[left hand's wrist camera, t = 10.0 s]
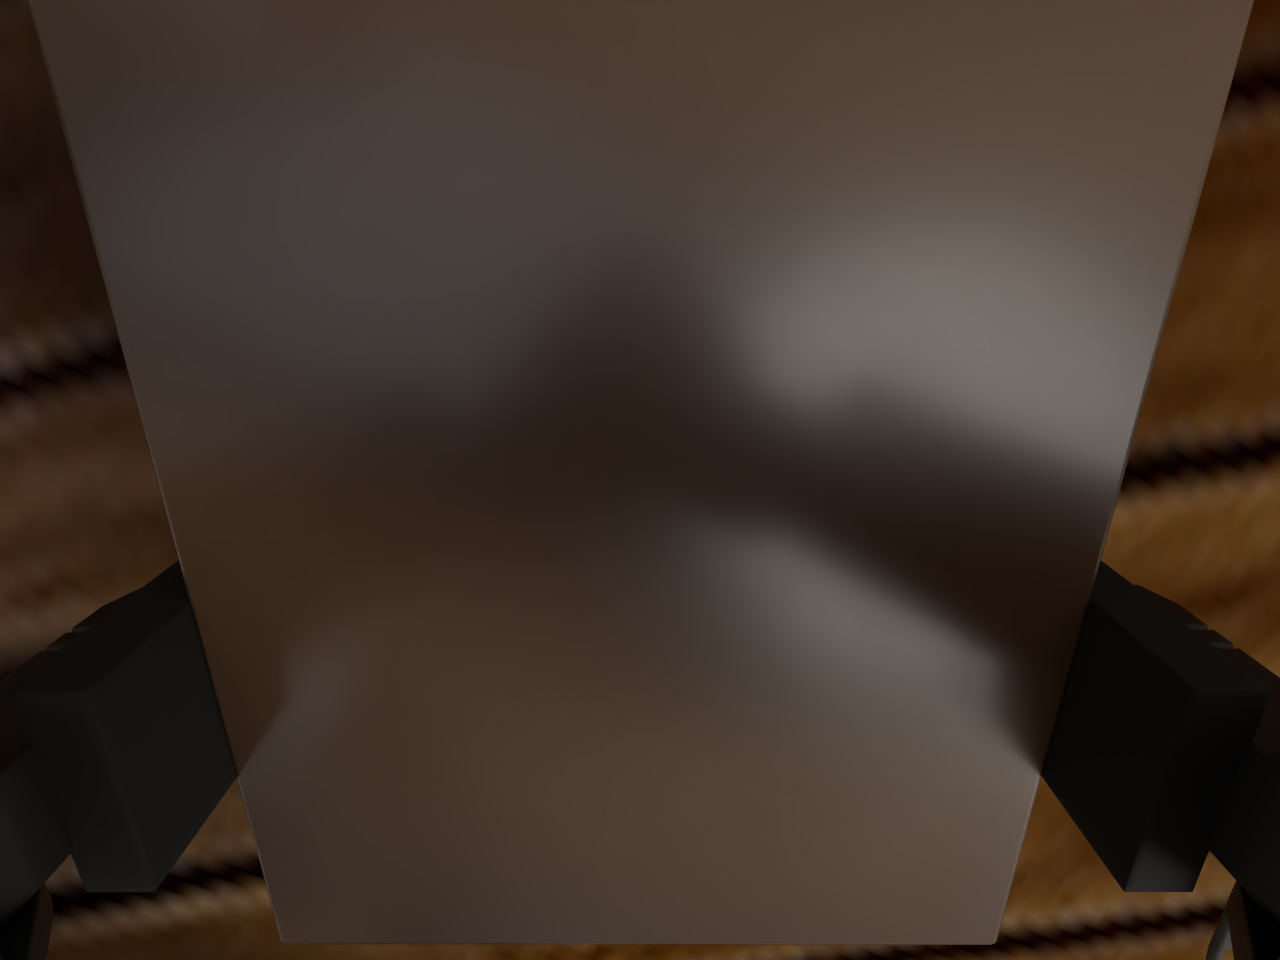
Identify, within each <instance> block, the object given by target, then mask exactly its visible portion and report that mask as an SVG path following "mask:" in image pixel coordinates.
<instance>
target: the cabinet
mask: <svg viewBox="0 0 1280 960" xmlns="http://www.w3.org/2000/svg"><path fill="white" fill-rule="evenodd" d="M1253 2H1254V0H28V3H29V6H30V10H31V14H32V18H33V21H34V25H35V29H36V32H37V36H38V40H39V44H40V47H41V51H42V55H43V58H44V62H45V66H46V70H47V73H48V77H49V81H50V84H51V88H52V92H53V96H54V99H55V103H56V107H57V110H58V114H59V118H60V122H61V125H62V129H63V133H64V136H65V140H66V144H67V147H68V151H69V155H70V159H71V162H72V166H73V170H74V173H75V177H76V181H77V185H78V188H79V192H80V196H81V199H82V203H83V207H84V211H85V214H86V218H87V222H88V225H89V229H90V233H91V237H92V240H93V244H94V248H95V251H96V255H97V259H98V263H99V266H100V270H101V274H102V277H103V281H104V285H105V289H106V292H107V296H108V300H109V303H110V307H111V311H112V315H113V318H114V322H115V326H116V329H117V333H118V337H119V341H120V344H121V348H122V352H123V355H124V359H125V363H126V366H127V370H128V374H129V378H130V381H131V385H132V389H133V392H134V396H135V400H136V404H137V407H138V411H139V415H140V418H141V422H142V426H143V430H144V433H145V437H146V441H147V444H148V448H149V452H150V456H151V459H152V463H153V467H154V470H155V474H156V478H157V482H158V485H159V489H160V493H161V496H162V500H163V504H164V508H165V511H166V515H167V519H168V522H169V526H170V530H171V534H172V537H173V541H174V545H175V548H176V552H177V556H178V560H179V563H180V567H181V571H182V574H183V578H184V582H185V585H186V589H187V593H188V597H189V600H190V604H191V608H192V611H193V615H194V619H195V623H196V626H197V630H198V634H199V637H200V641H201V645H202V649H203V652H204V656H205V660H206V663H207V667H208V671H209V675H210V678H211V682H212V686H213V689H214V693H215V697H216V701H217V704H218V708H219V712H220V715H221V719H222V723H223V727H224V730H225V734H226V738H227V741H228V745H229V749H230V753H231V756H232V760H233V764H234V767H235V771H236V775H237V779H238V782H239V786H240V790H241V793H242V797H243V801H244V805H245V808H246V812H247V816H248V819H249V823H250V827H251V830H252V834H253V838H254V842H255V845H256V849H257V853H258V856H259V860H260V864H261V868H262V871H263V875H264V879H265V882H266V886H267V890H268V894H269V897H270V901H271V905H272V908H273V912H274V916H275V920H276V923H277V927H278V931H279V934H280V938H281V941H282V942H283V943H285V944H855V945H991V944H994V943H995V942H996V940H997V937H998V933H999V929H1000V926H1001V922H1002V919H1003V915H1004V911H1005V908H1006V904H1007V900H1008V897H1009V893H1010V889H1011V886H1012V882H1013V878H1014V875H1015V871H1016V867H1017V864H1018V860H1019V856H1020V853H1021V849H1022V846H1023V842H1024V838H1025V835H1026V831H1027V827H1028V824H1029V820H1030V816H1031V813H1032V809H1033V805H1034V802H1035V798H1036V794H1037V791H1038V787H1039V783H1040V780H1041V776H1042V772H1043V769H1044V765H1045V762H1046V758H1047V754H1048V751H1049V747H1050V743H1051V740H1052V736H1053V732H1054V729H1055V725H1056V721H1057V718H1058V714H1059V710H1060V707H1061V703H1062V699H1063V696H1064V692H1065V688H1066V685H1067V681H1068V678H1069V674H1070V670H1071V667H1072V663H1073V659H1074V656H1075V652H1076V648H1077V645H1078V641H1079V637H1080V634H1081V630H1082V626H1083V623H1084V619H1085V615H1086V612H1087V608H1088V604H1089V601H1090V597H1091V594H1092V590H1093V586H1094V583H1095V579H1096V575H1097V572H1098V568H1099V564H1100V561H1101V557H1102V553H1103V550H1104V546H1105V542H1106V539H1107V535H1108V531H1109V528H1110V524H1111V520H1112V517H1113V513H1114V510H1115V506H1116V502H1117V499H1118V495H1119V491H1120V488H1121V484H1122V480H1123V477H1124V473H1125V469H1126V466H1127V462H1128V458H1129V455H1130V451H1131V447H1132V444H1133V440H1134V436H1135V433H1136V429H1137V426H1138V422H1139V418H1140V415H1141V411H1142V407H1143V404H1144V400H1145V396H1146V393H1147V389H1148V385H1149V382H1150V378H1151V374H1152V371H1153V367H1154V363H1155V360H1156V356H1157V352H1158V349H1159V345H1160V342H1161V338H1162V334H1163V331H1164V327H1165V323H1166V320H1167V316H1168V312H1169V309H1170V305H1171V301H1172V298H1173V294H1174V290H1175V287H1176V283H1177V279H1178V276H1179V272H1180V268H1181V265H1182V261H1183V258H1184V254H1185V250H1186V247H1187V243H1188V239H1189V236H1190V232H1191V228H1192V225H1193V221H1194V217H1195V214H1196V210H1197V206H1198V203H1199V199H1200V195H1201V192H1202V188H1203V184H1204V181H1205V177H1206V174H1207V170H1208V166H1209V163H1210V159H1211V155H1212V152H1213V148H1214V144H1215V141H1216V137H1217V133H1218V130H1219V126H1220V122H1221V119H1222V115H1223V111H1224V108H1225V104H1226V100H1227V97H1228V93H1229V90H1230V86H1231V82H1232V79H1233V75H1234V71H1235V68H1236V64H1237V60H1238V57H1239V53H1240V49H1241V46H1242V42H1243V38H1244V35H1245V31H1246V27H1247V24H1248V20H1249V16H1250V13H1251V9H1252V6H1253Z"/></svg>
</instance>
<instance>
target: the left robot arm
mask: <svg viewBox="0 0 1280 960" xmlns="http://www.w3.org/2000/svg"><path fill="white" fill-rule="evenodd" d="M1207 626H1208V625H1206V624H1205V623H1203V622H1202V621H1201V620H1199V619H1198V618H1197V617H1195V616H1194V615H1192V614H1191V613H1190V612H1188V611H1187V610H1186V609H1184V608H1183V607H1181V606H1180V605H1179V604H1177V603H1175V602H1173V601H1171V600H1169V599H1167V598H1164V597H1162V596H1160V595H1158V594H1156V593H1154V592H1152V591H1149V590H1147V589H1145V588H1143V587H1141V586H1139V585H1133V584H1131V583H1130V582H1129V581H1127V580H1126V579H1125V578H1123V577H1122V576H1121V575H1119V574H1118V573H1117V572H1115V571H1114V570H1113V569H1111V568H1110V567H1109V566H1107V565H1106V564H1105V563H1104V562H1102V561H1100V564H1099V568H1098V572H1097V575H1096V579H1095V583H1094V586H1093V590H1092V594H1091V597H1090V601H1089V604H1088V608H1087V612H1086V615H1085V619H1084V623H1083V626H1082V630H1081V634H1080V637H1079V641H1078V645H1077V648H1076V652H1075V656H1074V659H1073V663H1072V667H1071V670H1070V674H1069V678H1068V681H1067V685H1066V688H1065V692H1064V696H1063V699H1062V703H1061V707H1060V710H1059V714H1058V718H1057V721H1056V725H1055V729H1054V732H1053V736H1052V740H1051V743H1050V747H1049V751H1048V754H1047V758H1046V762H1045V765H1044V769H1043V772H1042V777H1043V779H1044V780H1045V781H1046V783H1047V784H1048V786H1049V787H1050V788H1051V790H1052V791H1053V793H1054V794H1055V795H1056V797H1057V798H1058V800H1059V801H1060V802H1061V804H1062V805H1063V807H1064V808H1065V809H1066V811H1067V812H1068V814H1069V815H1070V816H1071V818H1072V819H1073V821H1074V822H1075V823H1076V825H1077V826H1078V828H1079V829H1080V830H1081V832H1082V833H1083V835H1084V836H1085V837H1086V839H1087V840H1088V842H1089V843H1090V844H1091V846H1092V847H1093V849H1094V850H1095V851H1096V853H1097V854H1098V856H1099V857H1100V858H1101V860H1102V861H1103V863H1104V864H1105V865H1106V867H1107V868H1108V870H1109V871H1110V872H1111V874H1112V875H1113V877H1114V878H1115V879H1116V881H1117V882H1118V884H1119V885H1120V886H1121V888H1122V889H1123V891H1124V892H1193V889H1194V887H1195V884H1196V882H1197V879H1198V877H1199V874H1200V872H1201V869H1202V867H1203V864H1204V862H1205V859H1206V857H1207V854H1208V852H1209V850H1210V851H1211V853H1212V854H1213V855H1214V856H1215V857H1216V858H1217V859H1218V860H1219V861H1220V863H1221V864H1222V865H1223V866H1224V867H1225V868H1226V869H1227V870H1228V872H1229V873H1230V874H1231V875H1232V876H1233V877H1234V878H1235V879H1236V882H1235V885H1234V887H1233V889H1232V892H1231V894H1230V896H1229V899H1228V901H1227V904H1226V906H1225V908H1224V911H1223V913H1222V915H1221V918H1220V920H1219V922H1218V925H1217V927H1216V929H1215V932H1214V934H1213V936H1212V939H1211V941H1210V943H1209V946H1208V951H1207V956H1206V960H1221V959H1222V957H1223V955H1224V953H1225V951H1226V950H1228V949H1231V948H1232V949H1233V955H1234V960H1280V678H1279V677H1278V676H1276V675H1275V674H1274V673H1272V672H1271V671H1270V670H1268V669H1267V668H1265V667H1264V666H1263V665H1261V664H1260V663H1259V662H1257V661H1256V660H1254V659H1253V658H1252V657H1250V656H1249V655H1247V654H1246V653H1245V652H1243V651H1242V650H1241V649H1234V648H1233V644H1232V643H1231V642H1230V641H1228V640H1227V639H1225V638H1224V637H1223V636H1221V635H1220V634H1219V633H1217V632H1216V631H1214V630H1208V628H1207ZM236 777H237V775H236V771H235V767H234V764H233V760H232V756H231V753H230V749H229V745H228V741H227V738H226V734H225V730H224V727H223V723H222V719H221V715H220V712H219V708H218V704H217V701H216V697H215V693H214V689H213V686H212V682H211V678H210V675H209V671H208V667H207V663H206V660H205V656H204V652H203V649H202V645H201V641H200V637H199V634H198V630H197V626H196V623H195V619H194V615H193V611H192V608H191V604H190V600H189V597H188V593H187V589H186V585H185V582H184V578H183V574H182V571H181V567H180V563H179V560H178V561H177V562H176V563H174V564H173V565H172V566H170V567H169V568H168V569H166V570H165V571H164V572H162V573H161V574H160V575H158V576H157V577H156V578H154V579H153V580H152V581H150V582H149V583H148V584H146V585H145V586H144V587H142V588H140V589H138V590H136V591H134V592H132V593H130V594H127V595H125V596H123V597H121V598H119V599H117V600H115V601H113V602H110V603H108V604H106V605H104V606H102V607H101V608H99V609H98V610H97V611H95V612H94V613H93V614H91V615H90V616H88V617H87V618H86V619H84V620H83V621H82V622H80V623H79V624H78V625H76V626H75V627H73V628H72V633H65V634H64V635H63V636H61V637H60V638H58V639H57V640H56V641H54V642H53V643H52V644H50V645H49V646H47V651H46V652H39V653H38V654H37V655H35V656H34V657H32V658H31V659H30V660H28V661H27V662H26V663H24V664H23V665H22V666H20V667H19V668H17V669H16V670H15V671H13V672H12V673H11V674H9V675H8V676H6V677H5V678H4V679H2V680H1V681H0V960H46V958H47V951H48V945H49V939H50V933H51V927H52V920H53V914H54V911H53V906H52V900H51V896H50V894H49V892H48V889H47V887H46V885H45V882H46V880H47V879H48V878H49V877H50V876H51V875H52V874H53V872H54V871H55V870H56V869H57V868H58V867H59V866H60V865H61V863H62V862H63V861H64V860H65V859H66V858H67V857H68V856H69V854H70V853H71V854H72V857H73V859H74V862H75V864H76V867H77V869H78V872H79V874H80V877H81V879H82V882H83V884H84V887H85V889H86V892H155V891H156V890H157V888H158V887H159V885H160V884H161V883H162V881H163V880H164V878H165V877H166V876H167V874H168V873H169V871H170V870H171V869H172V867H173V866H174V864H175V863H176V862H177V860H178V859H179V857H180V856H181V855H182V853H183V852H184V850H185V849H186V848H187V846H188V845H189V843H190V842H191V840H192V839H193V838H194V836H195V835H196V833H197V832H198V831H199V829H200V828H201V826H202V825H203V824H204V822H205V821H206V819H207V818H208V817H209V815H210V814H211V812H212V811H213V810H214V808H215V807H216V805H217V804H218V803H219V801H220V800H221V798H222V797H223V796H224V794H225V793H226V791H227V790H228V789H229V787H230V786H231V784H232V783H233V782H234V780H235V779H236Z"/></svg>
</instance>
